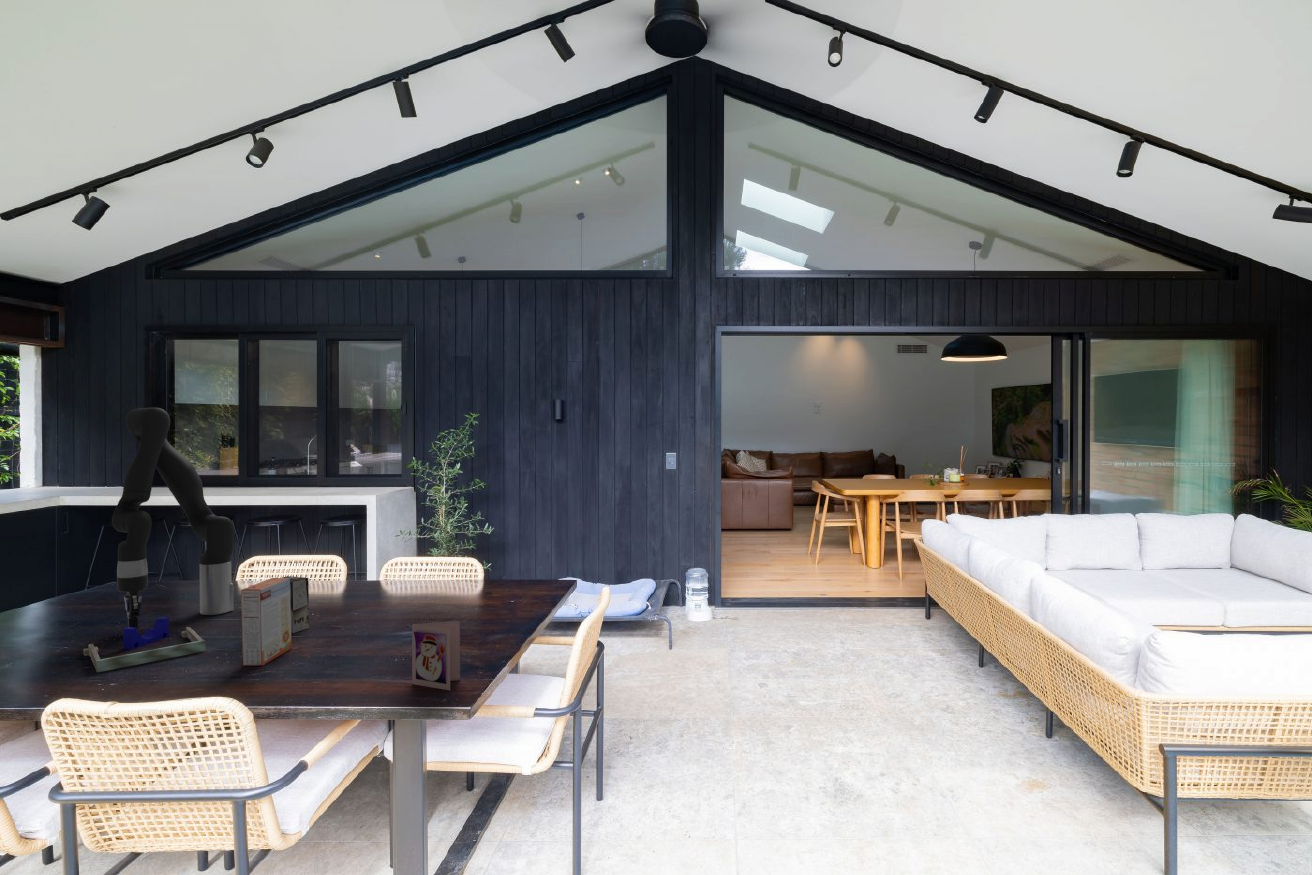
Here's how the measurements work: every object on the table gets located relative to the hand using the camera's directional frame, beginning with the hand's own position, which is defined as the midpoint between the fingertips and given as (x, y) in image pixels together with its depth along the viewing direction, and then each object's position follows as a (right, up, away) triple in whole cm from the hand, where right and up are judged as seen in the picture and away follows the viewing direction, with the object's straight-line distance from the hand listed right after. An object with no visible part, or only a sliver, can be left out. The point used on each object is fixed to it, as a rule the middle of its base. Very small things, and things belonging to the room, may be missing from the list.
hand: (133, 629), depth 210 cm
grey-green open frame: (+18, -1, -18) cm, 26 cm away
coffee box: (+47, -1, +4) cm, 47 cm away
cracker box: (+55, -2, -22) cm, 59 cm away
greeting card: (+108, -2, -41) cm, 116 cm away
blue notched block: (+11, -2, -9) cm, 14 cm away
